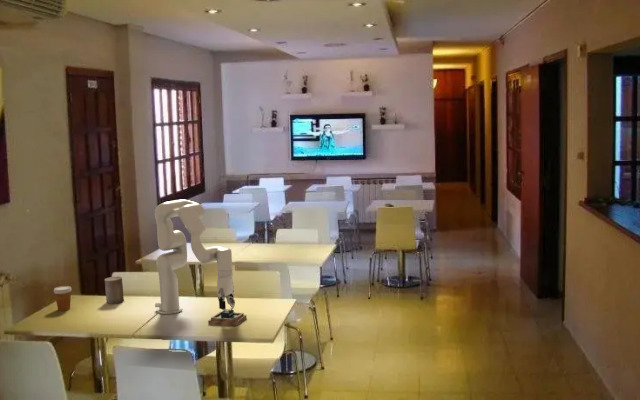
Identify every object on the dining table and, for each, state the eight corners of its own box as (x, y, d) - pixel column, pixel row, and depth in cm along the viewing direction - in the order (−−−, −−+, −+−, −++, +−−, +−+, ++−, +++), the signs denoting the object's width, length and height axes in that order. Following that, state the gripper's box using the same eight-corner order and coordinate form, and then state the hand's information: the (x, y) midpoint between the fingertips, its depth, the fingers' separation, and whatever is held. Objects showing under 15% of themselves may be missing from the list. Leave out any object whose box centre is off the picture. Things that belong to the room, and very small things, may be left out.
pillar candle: (127, 299, 422) (125, 274, 420) (118, 304, 413) (116, 278, 411) (111, 299, 424) (109, 274, 423) (103, 304, 415) (100, 278, 413)
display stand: (208, 324, 367) (208, 318, 367) (219, 317, 380) (219, 311, 379) (236, 326, 363) (235, 319, 362) (246, 318, 375) (246, 312, 375)
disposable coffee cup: (51, 310, 404) (49, 289, 403) (63, 306, 413) (61, 285, 411) (65, 312, 400) (63, 290, 399) (76, 307, 409) (75, 286, 408)
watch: (232, 319, 367) (231, 297, 366) (217, 317, 370) (216, 296, 369) (237, 316, 372) (236, 294, 371) (223, 314, 375) (222, 293, 374)
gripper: (225, 268, 377) (227, 301, 380) (210, 276, 361) (212, 310, 363) (238, 269, 375) (240, 302, 377) (224, 277, 359) (226, 311, 361)
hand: (226, 306), depth 370 cm, fingers open, 9 cm apart
